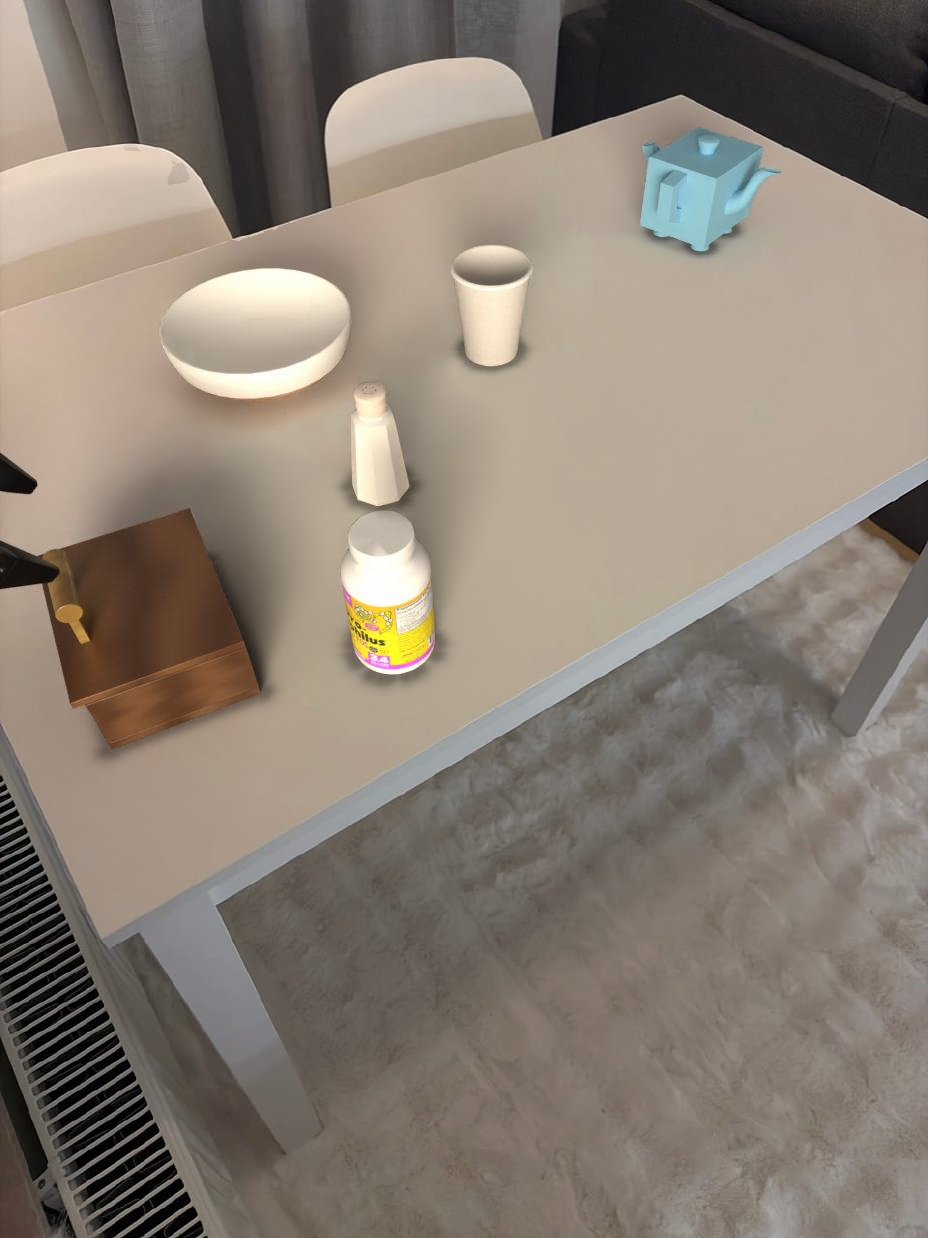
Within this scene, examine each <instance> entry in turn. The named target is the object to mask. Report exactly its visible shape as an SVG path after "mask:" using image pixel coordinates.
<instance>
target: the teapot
mask: <svg viewBox="0 0 928 1238" xmlns="http://www.w3.org/2000/svg"><path fill="white" fill-rule="evenodd" d="M641 149H642V152H643V155H644V157H645V161H646V163H647V168H646V177H645V184H644V191H643V199H642V205H641V206H642V207H641V212H640V213H641V214H640V221H639V226H641V227H643V228H646V229H649V230H652V234H653V236H656V237H659V238H665V237H671V238H674V239H676V240H679V241H682V242H685V243H687V244H689V245H690V248H691V249H692V250H693V251H696V252H706V251H708V250H709V249H710V245H711V244H712V243H713V242H715V241H716V240H718V238H720V237H721V236H723V235H726V234H727V235H728V234H730V233H732V232H733V227H734V226H736V225H738V223H740V222H742V221H743V220H744V219H745V218H747V217H749V215H750V211H751V207H752V202H753V200H754V198H755V197H756V195H757V193H758V191H759V190H760V187H761V186H762V184H763V182H765V180H767V179H768V178H769V177H772V176H775V175H780V174H782V171H781V170H779V169H778V168H774V167H767V166H766V167H761V162H762V158H763V153H764V149H765V148H764V146H762V145H759V144H755V143H752V142H749V141H746V140H743V139H739V138H737V137H735V136H731V135H726V134H723V133H720V132H717V131H713V130H709V129H706V128H703V127H700V126H696V127H694V128H693V129H691V130H690V131H688V132H687V133H685V134H683V135H681V136H680V137H679V138H677V139H675V140H674V141H672V142H671V143H669V144H667V145H666V146H665V147H663V148H660V147H659V146H658V142H646V143H645V144H643V145H641ZM760 167H761V168H760Z"/></svg>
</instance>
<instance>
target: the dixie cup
mask: <svg viewBox="0 0 928 1238" xmlns="http://www.w3.org/2000/svg"><path fill="white" fill-rule="evenodd" d="M449 270H450V273H451V277H453V283H454V289H455V296H456V302H457V308H458V313H459V321H460V327H461V333H462V339H463V346H464V352H465V355H466V357H467V358H468V359H469V360H470V362H472V363H474V364H477V365H480V366H485V367H496V366H497V367H498V366H502V365H506V364H508V363H510V362H511V361H513V360H514V359H515V358H516V356H517V354H518V350H519V344H520V339H521V331H522V325H523V319H524V313H525V308H526V302H527V297H528V291H529V286H530V285H529V284H530V280H531V276H532V275H533V272H534V262H533V261H532V259H531V258H530V257H529V255H527V254H526V253H525V252H523V251H522V250H520V249H519V248H515V247H513V246H509V245H503V244H481V245H477V246H472V247H470V248H469V247H468V248H467V249H465V250H463V251H461V252H460V253H458V254H457V255H456V256H455V257H454V258H453V259H452V260H451V263H450V267H449Z"/></svg>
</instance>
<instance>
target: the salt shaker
mask: <svg viewBox="0 0 928 1238" xmlns="http://www.w3.org/2000/svg"><path fill="white" fill-rule="evenodd" d="M386 396H387V390H386V388H385V387H384V386H383V384H381V383H379V382H377V381H376V382H375V381H366V382H365V381H364V382H362V383H360V384H358V385H357V386H356V387H355V388H354V389H353V391H352V397H353V399H354V406H355V410H354V411H353V412H352V413H351V414H350V441H351V444H350V446H351V447H350V448H351V449H350V450H351V486H352V488H353V491H354V494H355V496H356V498H357V500H358V501H359V502H363V503H366V504H369V505H371V506H376V507H381V506H386V505H389V504H394V503H397V502H399V501H400V500H401V499H402V498H403V496H404V495H405V494H406V492H407V491H408V489H409V488H410V482H409V477H408V473H407V468H406V465H405V460H404V455H403V450H402V446H401V443H400V438H399V434H398V429H397V423H396V421H395V417H394V414H393V412H392V410H391V408H390V406H389V405H387V398H386Z"/></svg>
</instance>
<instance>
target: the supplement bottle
mask: <svg viewBox="0 0 928 1238" xmlns="http://www.w3.org/2000/svg"><path fill="white" fill-rule="evenodd" d="M347 540H348V541H347V542H348V548H347V550H346V552H344V555H343V557H342V559H341V563H340V570H339V571H340V579H341V586H342V590H343V595H344V596H343V597H344V602H345V608H346V613H347V618H348V624H349V628H350V629H349V631H350V636H351V641H352V645H353V649H354V650H353V651H354V653H355V655H356V656H357V658H358V659H359V661H360V662H361V663H362V664H363V665H364V666H365V667H367V668H368V669H370V670H372V671H373V672H376V673H380V674H386V675H400V674H406V673H408V672H411V671H413V670H415V669H417V668H419V667H420V666H422V665H423V664H424V663H425V662H426V661H427V660H428V659H429V658H430V656H431V654H432V652H433V651H434V648H435V644H436V625H435V611H434V595H433V580H432V567H431V560H430V556H429V553H428V551H427V550H426V549H425V547H424V546H423V545H422V544H421V543H420V542H419V541H418V540H417V539H416V535H415V528H414V526H413V523H412V522H411V521H410V520H409V518H407V517H406V516H405V515H403V514H401V513H400V512H396V511H393V510H376V511H371V512H367V513H365V514H364V515H361V516H360V517H358V518H357V519H355V521H354V522H353V523H352V525H351V526H350V527H349V530H348V534H347Z"/></svg>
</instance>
